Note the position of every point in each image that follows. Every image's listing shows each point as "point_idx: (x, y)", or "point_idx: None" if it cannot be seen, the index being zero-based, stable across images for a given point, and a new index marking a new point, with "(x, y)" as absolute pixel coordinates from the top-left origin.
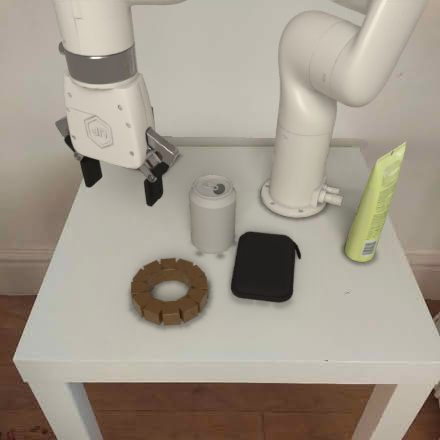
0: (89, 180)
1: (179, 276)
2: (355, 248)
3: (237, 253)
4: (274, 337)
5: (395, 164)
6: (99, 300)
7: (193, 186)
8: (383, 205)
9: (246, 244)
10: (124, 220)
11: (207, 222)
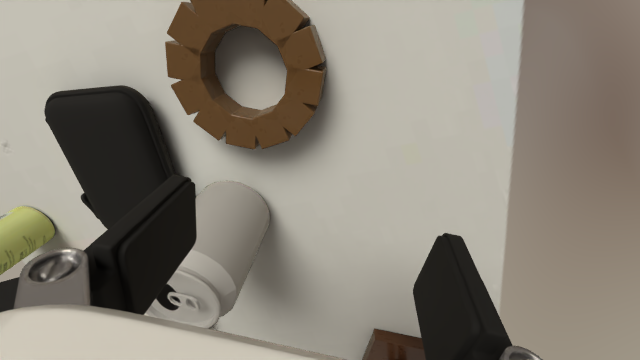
0: (446, 257)
1: (246, 112)
2: (10, 221)
3: None
4: (42, 16)
5: None
6: (388, 18)
7: (213, 296)
8: None
9: None
10: (404, 232)
11: None
